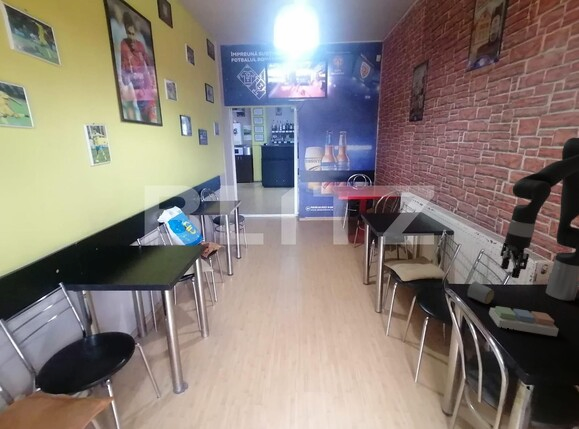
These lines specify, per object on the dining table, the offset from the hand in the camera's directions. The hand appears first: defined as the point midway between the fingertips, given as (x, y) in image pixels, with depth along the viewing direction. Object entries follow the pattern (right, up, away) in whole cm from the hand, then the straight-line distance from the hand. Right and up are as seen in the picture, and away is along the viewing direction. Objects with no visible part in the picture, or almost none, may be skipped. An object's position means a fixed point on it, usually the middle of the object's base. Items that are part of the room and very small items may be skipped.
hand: (509, 273), depth 111 cm
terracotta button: (+12, -19, 0) cm, 22 cm away
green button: (0, -18, +3) cm, 18 cm away
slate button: (+6, -18, +1) cm, 19 cm away
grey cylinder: (+2, -16, +20) cm, 25 cm away
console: (+6, -21, +2) cm, 22 cm away
